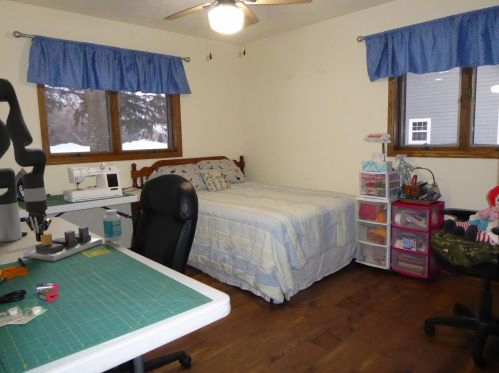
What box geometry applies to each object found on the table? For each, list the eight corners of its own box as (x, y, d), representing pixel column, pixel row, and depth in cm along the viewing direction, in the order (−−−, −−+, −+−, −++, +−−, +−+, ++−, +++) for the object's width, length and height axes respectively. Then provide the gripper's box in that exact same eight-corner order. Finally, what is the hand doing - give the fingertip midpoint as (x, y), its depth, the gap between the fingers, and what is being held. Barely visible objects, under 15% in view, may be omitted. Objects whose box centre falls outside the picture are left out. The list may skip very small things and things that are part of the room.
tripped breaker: (41, 244, 141) (40, 235, 141) (48, 242, 144) (47, 233, 143) (45, 245, 140) (44, 235, 140) (52, 243, 143) (51, 233, 142)
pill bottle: (116, 242, 157) (113, 212, 155) (101, 241, 159) (98, 212, 157) (125, 237, 164) (123, 208, 163) (110, 236, 166) (108, 208, 164)
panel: (23, 256, 141) (21, 236, 140) (74, 239, 163) (72, 222, 162) (54, 261, 134) (52, 240, 133) (102, 243, 156) (101, 225, 155)
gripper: (15, 199, 140) (20, 242, 142) (38, 201, 135) (43, 245, 137) (33, 196, 147) (37, 237, 149) (55, 198, 142) (60, 240, 144)
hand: (40, 241), depth 143 cm, fingers closed
